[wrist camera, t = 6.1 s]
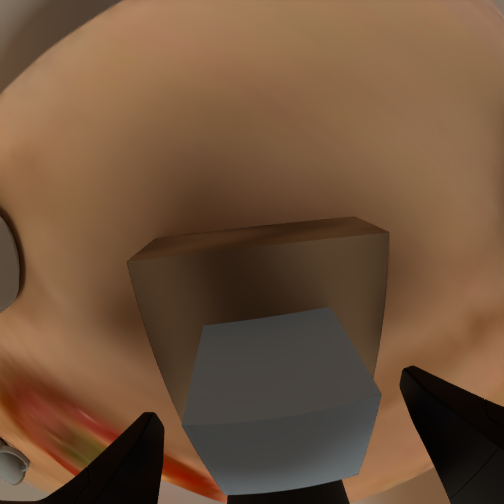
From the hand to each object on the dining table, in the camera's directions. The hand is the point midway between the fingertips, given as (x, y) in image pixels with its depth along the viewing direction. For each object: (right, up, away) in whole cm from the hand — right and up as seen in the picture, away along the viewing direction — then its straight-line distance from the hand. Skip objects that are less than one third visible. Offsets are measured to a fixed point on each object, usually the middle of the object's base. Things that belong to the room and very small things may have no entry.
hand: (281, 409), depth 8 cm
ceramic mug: (-44, -30, +15) cm, 56 cm away
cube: (0, 0, +3) cm, 3 cm away
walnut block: (0, +2, +7) cm, 7 cm away
